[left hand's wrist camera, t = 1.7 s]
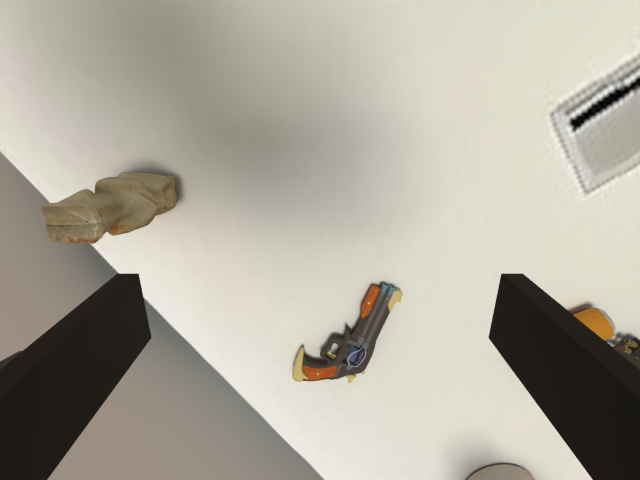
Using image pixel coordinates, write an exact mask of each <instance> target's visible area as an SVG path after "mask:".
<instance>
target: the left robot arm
mask: <svg viewBox="0 0 640 480" xmlns="http://www.w3.org/2000/svg"><path fill="white" fill-rule="evenodd" d="M150 339H151V334H150V329H149V324H148V319H147V314H146V309H145V304H144V299H143V294H142V289H141V284H140V279H139V274H117V275H115V276H114V277H113V278H112V279H110V280H109V281H108V282H107V283H105V284H104V285H103V286H102V287H101V288H99V289H98V290H97V291H96V292H94V293H93V294H92V295H91V296H90V297H88V298H87V299H86V300H85V301H83V302H82V303H81V304H80V305H79V306H77V307H76V308H75V309H74V310H72V311H71V312H70V313H69V314H67V315H66V316H65V317H64V318H63V319H61V320H60V321H59V322H58V323H56V324H55V325H54V326H53V327H52V328H50V329H49V330H48V331H47V332H45V333H44V334H43V335H42V336H41V337H39V338H38V339H37V340H36V341H35V342H33V343H32V344H31V345H30V346H28V347H27V348H26V349H25V350H24V351H19V352H17V353H15V354H13V355H12V356H10V357H8V358H6V359H4V360H2V361H0V480H47V479H48V478H49V476H50V475H51V474H52V472H53V471H54V470H55V468H56V467H57V465H58V464H59V463H60V461H61V460H62V459H63V457H64V456H65V455H66V453H67V452H68V451H69V449H70V448H71V446H72V445H73V444H74V442H75V441H76V440H77V438H78V437H79V435H80V434H81V433H82V431H83V430H84V429H85V427H86V426H87V425H88V423H89V422H90V420H91V419H92V418H93V416H94V415H95V414H96V412H97V411H98V410H99V408H100V407H101V406H102V404H103V403H104V402H105V400H106V399H107V397H108V396H109V395H110V393H111V392H112V391H113V389H114V388H115V387H116V385H117V384H118V382H119V381H120V380H121V378H122V377H123V376H124V374H125V373H126V372H127V370H128V369H129V367H130V366H131V365H132V363H133V362H134V361H135V359H136V358H137V357H138V355H139V354H140V352H141V351H142V350H143V348H144V347H145V346H146V344H147V343H148V342H149V340H150ZM489 339H490V340H491V342H492V343H493V344H494V346H495V347H496V348H497V350H498V351H499V353H500V354H501V355H502V357H503V358H504V359H505V361H506V362H507V363H508V365H509V366H510V367H511V369H512V370H513V372H514V373H515V374H516V376H517V377H518V378H519V380H520V381H521V382H522V384H523V385H524V387H525V388H526V389H527V391H528V392H529V393H530V395H531V396H532V397H533V399H534V400H535V402H536V403H537V404H538V406H539V407H540V408H541V410H542V411H543V412H544V414H545V415H546V416H547V418H548V419H549V421H550V422H551V423H552V425H553V426H554V427H555V429H556V430H557V431H558V433H559V434H560V436H561V437H562V438H563V440H564V441H565V442H566V444H567V445H568V446H569V448H570V449H571V451H572V452H573V453H574V455H575V456H576V457H577V459H578V460H579V461H580V463H581V464H582V465H583V467H584V468H585V470H586V471H587V472H588V474H589V475H590V476H591V478H592V479H593V480H640V360H639V359H637V358H635V357H633V356H631V355H629V354H628V353H626V352H624V351H622V350H615V349H614V348H613V347H612V346H610V345H609V344H608V343H607V342H606V341H604V340H603V339H602V338H601V337H599V336H598V335H597V334H596V333H595V332H593V331H592V330H591V329H590V328H588V327H587V326H586V325H585V324H584V323H582V322H581V321H580V320H579V319H577V318H576V317H575V316H574V315H573V314H571V313H570V312H569V311H568V310H566V309H565V308H564V307H563V306H561V305H560V304H559V303H558V302H557V301H555V300H554V299H553V298H552V297H550V296H549V295H548V294H547V293H546V292H544V291H543V290H542V289H541V288H539V287H538V286H537V285H536V284H535V283H533V282H532V281H531V280H530V279H528V278H527V277H526V276H525V275H524V274H501V279H500V284H499V289H498V294H497V299H496V304H495V309H494V314H493V319H492V324H491V328H490V333H489Z"/></svg>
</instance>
